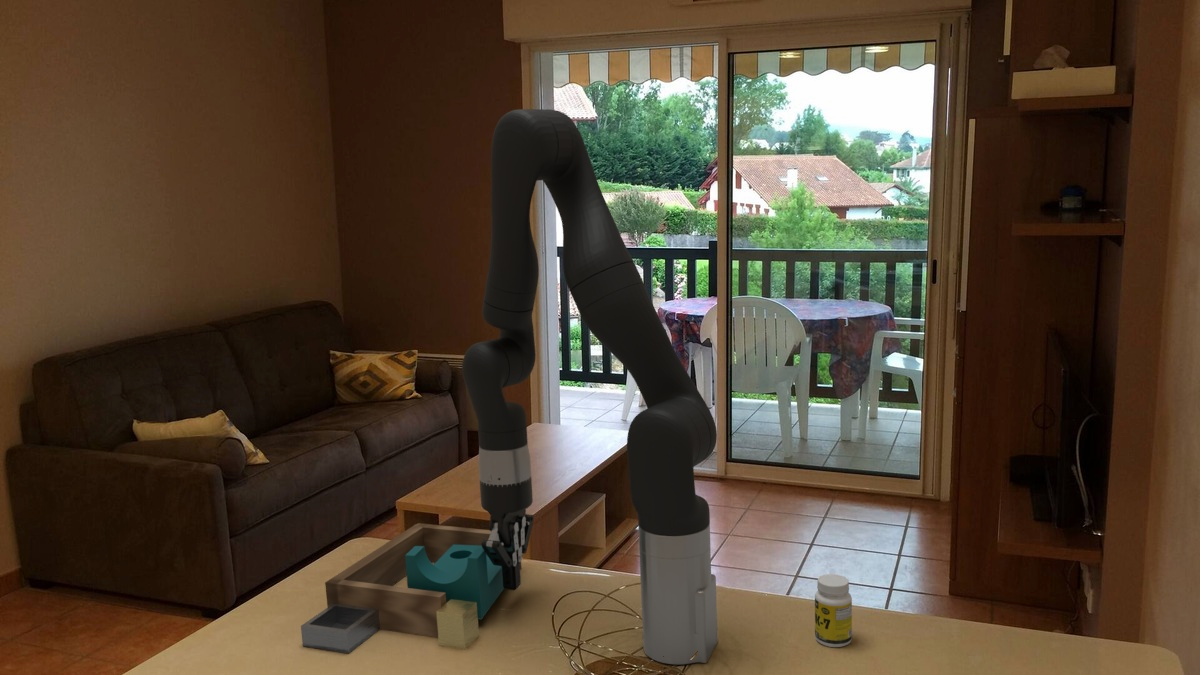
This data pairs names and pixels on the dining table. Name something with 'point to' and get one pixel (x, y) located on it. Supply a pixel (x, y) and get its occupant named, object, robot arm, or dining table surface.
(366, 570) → the bracket
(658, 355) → the robot arm
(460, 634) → the key block
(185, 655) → the dining table surface
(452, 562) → the teal l-shaped bracket
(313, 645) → the tray
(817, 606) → the supplement bottle
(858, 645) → the dining table surface
